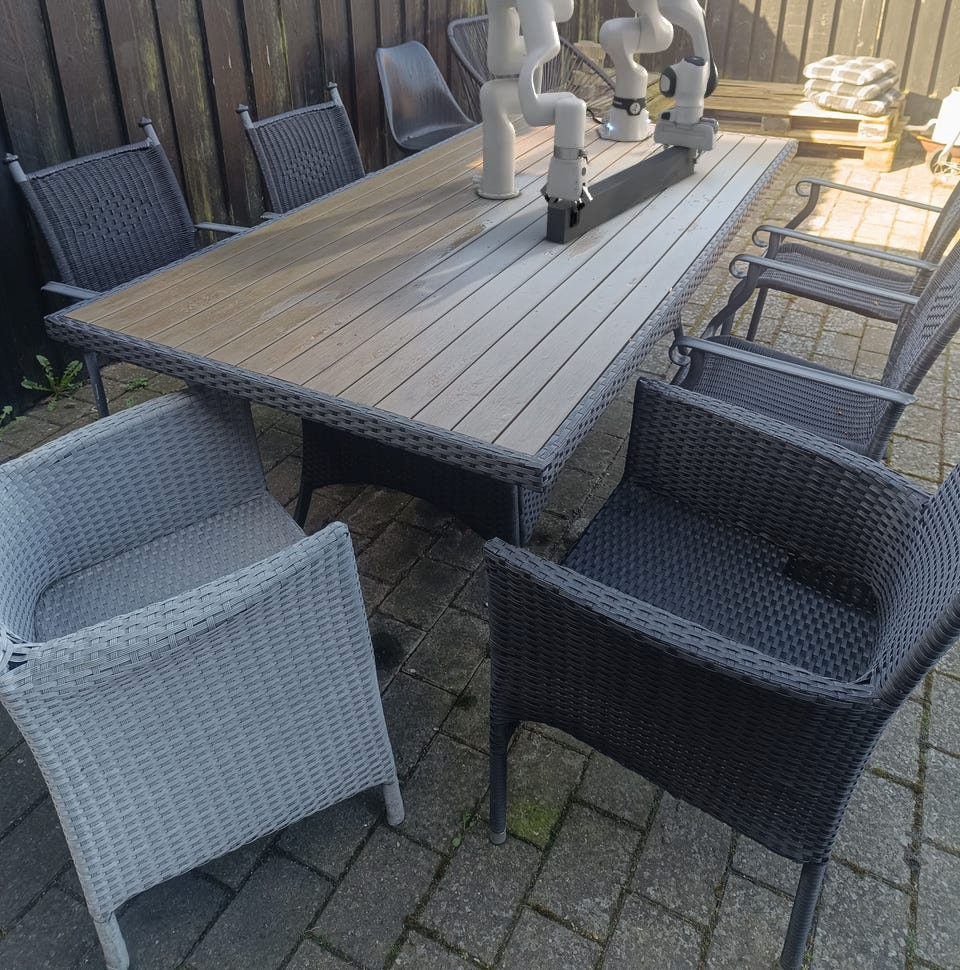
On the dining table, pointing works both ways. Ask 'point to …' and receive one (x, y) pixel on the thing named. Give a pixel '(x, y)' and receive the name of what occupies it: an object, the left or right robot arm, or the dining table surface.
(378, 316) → the dining table surface
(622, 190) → the beam
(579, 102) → the left robot arm
